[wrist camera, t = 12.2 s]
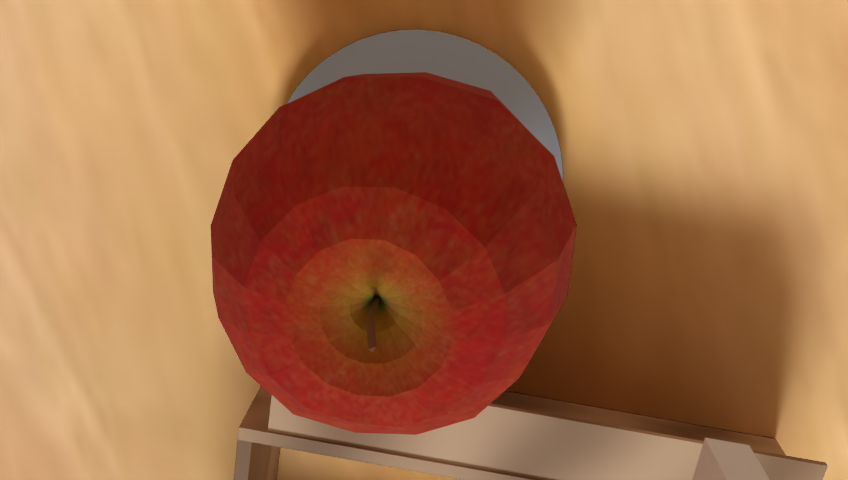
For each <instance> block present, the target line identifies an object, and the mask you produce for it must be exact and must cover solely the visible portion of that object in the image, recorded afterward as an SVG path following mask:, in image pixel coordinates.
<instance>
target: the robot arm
mask: <svg viewBox="0 0 848 480" xmlns="http://www.w3.org/2000/svg"><path fill="white" fill-rule="evenodd" d="M692 480H770V479H769V478H768V476H767V474H766V472H765V471H764V469H763V467H762V466H761V464H760V462H759V461H758V459H757V457H756V456H755V454H754V452H753V451H752V449H751V447H750V446H749V445H745V444H739V443H734V442H728V441H722V440H716V439H710V438H705V440H704V443H703V446H702V450H701V453H700V456H699V459H698V463H697V466H696V469H695V472H694V476H693V479H692Z"/></svg>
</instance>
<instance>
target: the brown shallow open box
mask: <svg viewBox="0 0 848 480" xmlns="http://www.w3.org/2000/svg"><path fill="white" fill-rule="evenodd" d="M705 438H710V439H716V440H722V441H728V442H734V443H739V444H745V445H749V446H750V447H751V449H752V451H753V452H754V454H755V456H756V457H757V459H758V461H759V462H760V464H761V466H762V467H763V469H764V471H765V472H766V474H767V476H768V478H769V479H770V480H823V477H824V474H825V472H826V469H827V464H826V463H825V462H819V461H813V460H808V459H802V458H796V457H791V456H786V455H785V453H784V452H783V450H782V448H781V447H780V445H779V443H778V442H777V440H776V439H772V438H767V437H761V436H755V435H750V434H744V433H738V432H733V431H727V430H722V429H716V428H710V427H705V426H699V425H693V424H688V423H682V422H676V421H671V420H665V419H659V418H654V417H648V416H642V415H637V414H631V413H625V412H620V411H614V410H608V409H603V408H597V407H592V406H586V405H580V404H575V403H569V402H563V401H558V400H552V399H546V398H541V397H535V396H529V395H524V394H518V393H512V392H507V391H504V392H503V393H502V394H501V395H500V396H498V397H497V398H496V399H495V400H494V401H493V402H492V403H491V404H489V405H488V406H487V407H486V408H485V409H484V410H483V411H482V412H480V413H479V414H478V415H477V416H476V417H475V418H472V419H469V420H465V421H462V422H459V423H455V424H452V425H448V426H445V427H441V428H438V429H435V430H431V431H428V432H424V433H421V434H417V435H410V434H378V433H354V432H351V431H347V430H344V429H341V428H337V427H334V426H331V425H327V424H324V423H320V422H317V421H314V420H310V419H307V418H304V417H300V416H297V415H294V414H292V413H291V412H290V411H289V410H288V409H287V408H286V407H285V406H284V405H282V404H281V403H280V402H279V401H278V400H277V399H276V398H275V397H274V396H272V395H271V394H270V393H269V392H268V391H267V390H266V389H265V388H264V387H262V386H261V387H260V389H259V391H258V393H257V395H256V397H255V398H254V400H253V402H252V404H251V406H250V408H249V410H248V411H247V413H246V415H245V417H244V419H243V421H242V423H241V425H240V426H239V432H238V442H237V452H236V463H235V473H234V480H277V471H278V463H279V454H280V447H282V448H287V449H293V450H299V451H304V452H310V453H315V454H321V455H327V456H332V457H338V458H343V459H349V460H355V461H360V462H366V463H371V464H377V465H383V466H388V467H394V468H399V469H405V470H411V471H416V472H422V473H427V474H433V475H438V476H444V477H450V478H455V479H461V480H692V479H693V476H694V472H695V469H696V466H697V463H698V459H699V456H700V453H701V450H702V446H703V443H704V440H705Z"/></svg>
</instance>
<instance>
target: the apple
mask: <svg viewBox="0 0 848 480" xmlns="http://www.w3.org/2000/svg"><path fill="white" fill-rule="evenodd" d="M576 226H577V224H576V221H575V218H574V215H573V212H572V209H571V206H570V203H569V200H568V197H567V194H566V191H565V188H564V184H563V181H562V178H561V175H560V172H559V169H558V166H557V163H556V160H555V157H554V155H553V154H552V153H551V152H550V151H549V150H548V149H547V148H546V147H545V146H544V145H543V144H542V143H541V142H539V141H538V140H537V139H536V138H535V136H534V135H533V134H532V133H531V132H530V131H529V130H528V129H527V128H526V127H525V126H524V125H523V124H522V123H521V122H520V121H519V120H518V119H517V118H516V117H515V116H514V115H513V114H512V113H511V111H510V110H509V109H508V108H507V107H506V106H505V105H504V104H503V103H502V102H501V101H500V100H499V99H498V98H497V97H496V96H495V95H494V94H493V93H492V92H491V91H489V90H486V89H482V88H479V87H476V86H472V85H469V84H465V83H462V82H458V81H455V80H451V79H448V78H444V77H441V76H437V75H434V74H431V73H427V72H417V73H381V74H360V75H354V76H347V77H343V78H341V79H339V80H337V81H335V82H332V83H330V84H328V85H326V86H324V87H322V88H320V89H318V90H315V91H313V92H311V93H309V94H307V95H305V96H303V97H301V98H298V99H296V100H294V101H292V102H290V103H288V104H286V105H283V106H281V107H279V108H278V110H277V111H276V112H275V113H274V114H273V115H272V116H271V118H270V119H269V120H268V121H267V122H266V123H265V124H264V125H263V127H262V128H261V129H260V130H259V131H258V132H257V133H256V135H255V136H254V137H253V138H252V139H251V140H250V141H249V142H248V144H247V145H246V146H245V147H244V148H243V149H242V150H241V152H240V153H239V154H238V155H237V156H236V157H235V158H234V160H233V162H232V164H231V167H230V170H229V173H228V176H227V179H226V182H225V185H224V188H223V191H222V194H221V197H220V200H219V203H218V206H217V209H216V212H215V215H214V218H213V221H212V224H211V244H212V272H213V293H214V298H215V302H216V307H217V312H218V316H219V319H220V321H221V323H222V325H223V327H224V329H225V331H226V333H227V335H228V337H229V339H230V341H231V343H232V345H233V347H234V349H235V351H236V353H237V355H238V357H239V359H240V361H241V363H242V365H243V367H244V368H245V370H246V372H247V373H248V374H249V375H250V376H251V377H252V378H253V379H255V380H256V381H257V382H258V383H259V384H260V385H261V386H262V387H264V388H265V389H266V390H267V391H268V392H269V393H270V394H271V395H272V396H274V397H275V398H276V399H277V400H278V401H279V402H280V403H281V404H282V405H284V406H285V407H286V408H287V409H288V410H289V411H290V412H291V413H292V414H294V415H297V416H300V417H304V418H307V419H310V420H314V421H317V422H320V423H324V424H327V425H331V426H334V427H337V428H341V429H344V430H347V431H351V432H354V433H378V434H410V435H417V434H421V433H424V432H428V431H431V430H435V429H438V428H441V427H445V426H448V425H452V424H455V423H459V422H462V421H465V420H469V419H472V418H475V417H476V416H477V415H478V414H479V413H480V412H482V411H483V410H484V409H485V408H486V407H487V406H488V405H489V404H491V403H492V402H493V401H494V400H495V399H496V398H497V397H498V396H500V395H501V394H502V393H503V392H504V391H505V390H506V389H507V388H509V387H510V386H511V385H512V384H513V383H514V382H515V381H516V380H518V379H519V378H520V376H521V374H522V373H523V371H524V369H525V368H526V366H527V364H528V363H529V361H530V359H531V358H532V356H533V354H534V353H535V351H536V349H537V347H538V346H539V344H540V342H541V340H542V339H543V337H544V335H545V333H546V332H547V330H548V328H549V326H550V325H551V323H552V321H553V319H554V318H555V316H556V314H557V312H558V310H559V309H560V307H561V305H562V303H563V302H564V300H565V298H566V296H567V294H568V287H569V279H570V272H571V264H572V257H573V249H574V241H575V234H576Z"/></svg>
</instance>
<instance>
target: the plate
mask: <svg viewBox="0 0 848 480" xmlns="http://www.w3.org/2000/svg"><path fill="white" fill-rule="evenodd" d="M417 72H427V73H431V74H434V75H437V76H441V77H444V78H448V79H451V80H455V81H458V82H462V83H465V84H469V85H472V86H476V87H479V88H482V89H486V90H489V91H491V92H492V93H493V94H494V95H495V96H496V97H497V98H498V99H499V100H500V101H501V102H502V103H503V104H504V105H505V106H506V107H507V108H508V109H509V110H510V111H511V113H512V114H513V115H514V116H515V117H516V118H517V119H518V120H519V121H520V122H521V123H522V124H523V125H524V126H525V127H526V128H527V129H528V130H529V131H530V132H531V133H532V134H533V135H534V136H535V138H536V139H537V140H538V141H539V142H541V143H542V144H543V145H544V146H545V147H546V148H547V149H548V150H549V151H550V152H551V153H552V154H553V155H554V157H555V160H556V163H557V166H558V169H559V172H560V175H561V178H562V181H563V166H562V158H561V150H560V146H559V142H558V139H557V135H556V131H555V129H554V126H553V124H552V121H551V119H550V117H549V114H548V112H547V110H546V108H545V106H544V105H543V103H542V101H541V100H540V98H539V96H538V94H537V93H536V92H535V90H534V89H533V88H532V87H531V85H530V84H529V83H528V82H527V80H526V79H525V78H524V77H523V76H522V75H521V74H520V73H519V72H518V71H517V70H516V69H515V68H514V67H513V66H512V65H511V64H509V63H508V62H507V61H505V60H504V59H503V58H501V57H500V56H499V55H497V54H496V53H494V52H493V51H491V50H489V49H487V48H485V47H484V46H482V45H480V44H478V43H476V42H473V41H471V40H468V39H466V38H463V37H460V36H457V35H453V34H449V33H445V32H441V31H433V30H423V29H409V30H396V31H390V32H384V33H379V34H376V35H373V36H370V37H366V38H363V39H360V40H358V41H356V42H354V43H352V44H350V45H348V46H346V47H344V48H342V49H340V50H339V51H337V52H336V53H334V54H333V55H331V56H329V57H328V58H326V59H325V60H324V61H322V62H321V63H320V64H319V65H318V66H317V67H316V68H314V69H313V70H312V71H311V72H310V73H309V74H308V75H307V76H306V78H305V79H304V80H303V81H302V82H301V83H300V84H299V86H298V87H297V88H296V90H295V91H294V93H293V94H292V96H291V97H290V99H289V100H288V102H287V104H288V103H290V102H292V101H294V100H296V99H298V98H301V97H303V96H305V95H307V94H309V93H311V92H313V91H315V90H318V89H320V88H322V87H324V86H326V85H328V84H330V83H332V82H335V81H337V80H339V79H341V78H343V77H347V76H354V75H360V74H381V73H417Z"/></svg>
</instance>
